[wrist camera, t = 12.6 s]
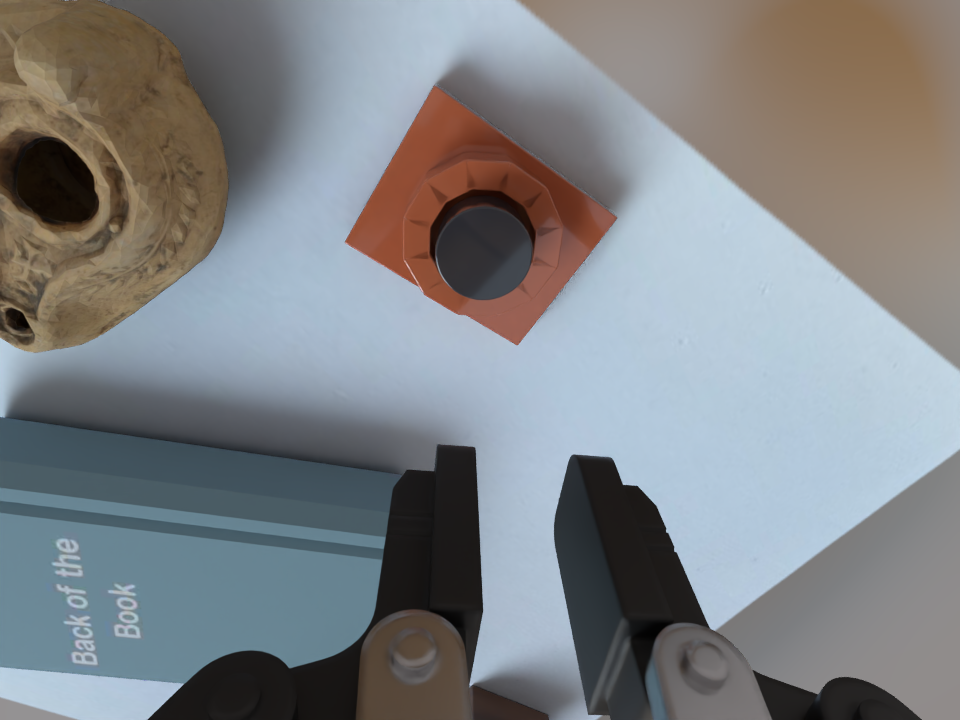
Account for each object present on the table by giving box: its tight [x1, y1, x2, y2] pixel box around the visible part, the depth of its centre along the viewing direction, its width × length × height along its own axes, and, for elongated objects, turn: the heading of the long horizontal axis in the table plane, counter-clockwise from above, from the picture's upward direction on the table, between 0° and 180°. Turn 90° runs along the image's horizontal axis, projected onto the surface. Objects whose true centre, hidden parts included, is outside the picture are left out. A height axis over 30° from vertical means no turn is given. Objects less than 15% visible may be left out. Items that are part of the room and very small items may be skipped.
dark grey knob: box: [435, 195, 533, 300], centre depth 24 cm, size 4×4×2 cm
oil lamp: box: [0, 0, 229, 353], centre depth 23 cm, size 11×15×8 cm
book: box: [0, 417, 401, 684], centre depth 35 cm, size 23×16×5 cm
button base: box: [345, 84, 617, 345], centre depth 26 cm, size 10×8×4 cm
